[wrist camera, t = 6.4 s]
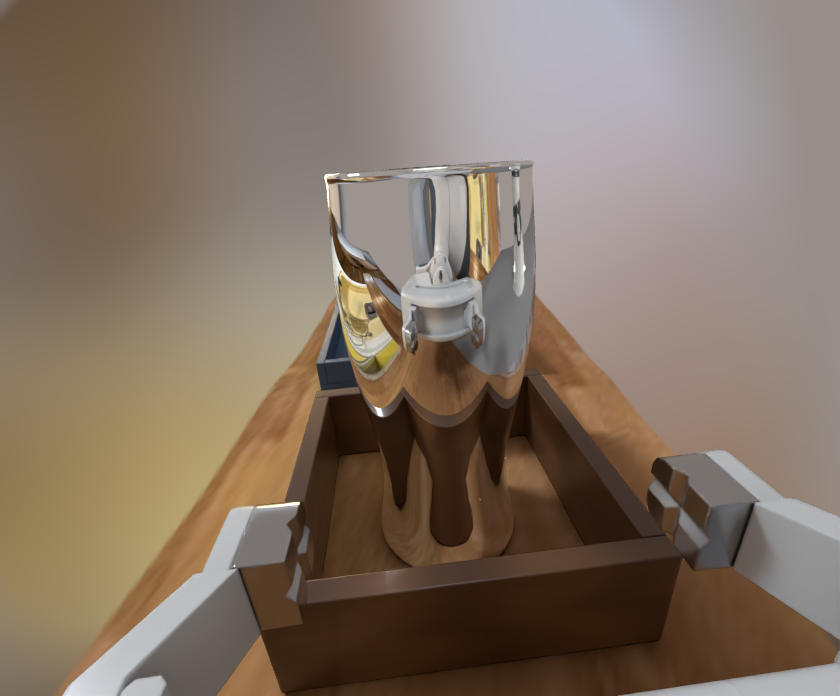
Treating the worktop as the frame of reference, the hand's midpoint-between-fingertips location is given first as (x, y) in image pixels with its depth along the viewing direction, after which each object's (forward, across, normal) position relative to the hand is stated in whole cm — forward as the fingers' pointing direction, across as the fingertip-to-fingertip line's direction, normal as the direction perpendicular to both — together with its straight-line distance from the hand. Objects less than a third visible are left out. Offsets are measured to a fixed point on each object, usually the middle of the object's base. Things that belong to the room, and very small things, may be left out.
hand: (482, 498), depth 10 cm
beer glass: (+7, 0, +8) cm, 11 cm away
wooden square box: (+7, 0, +8) cm, 11 cm away
